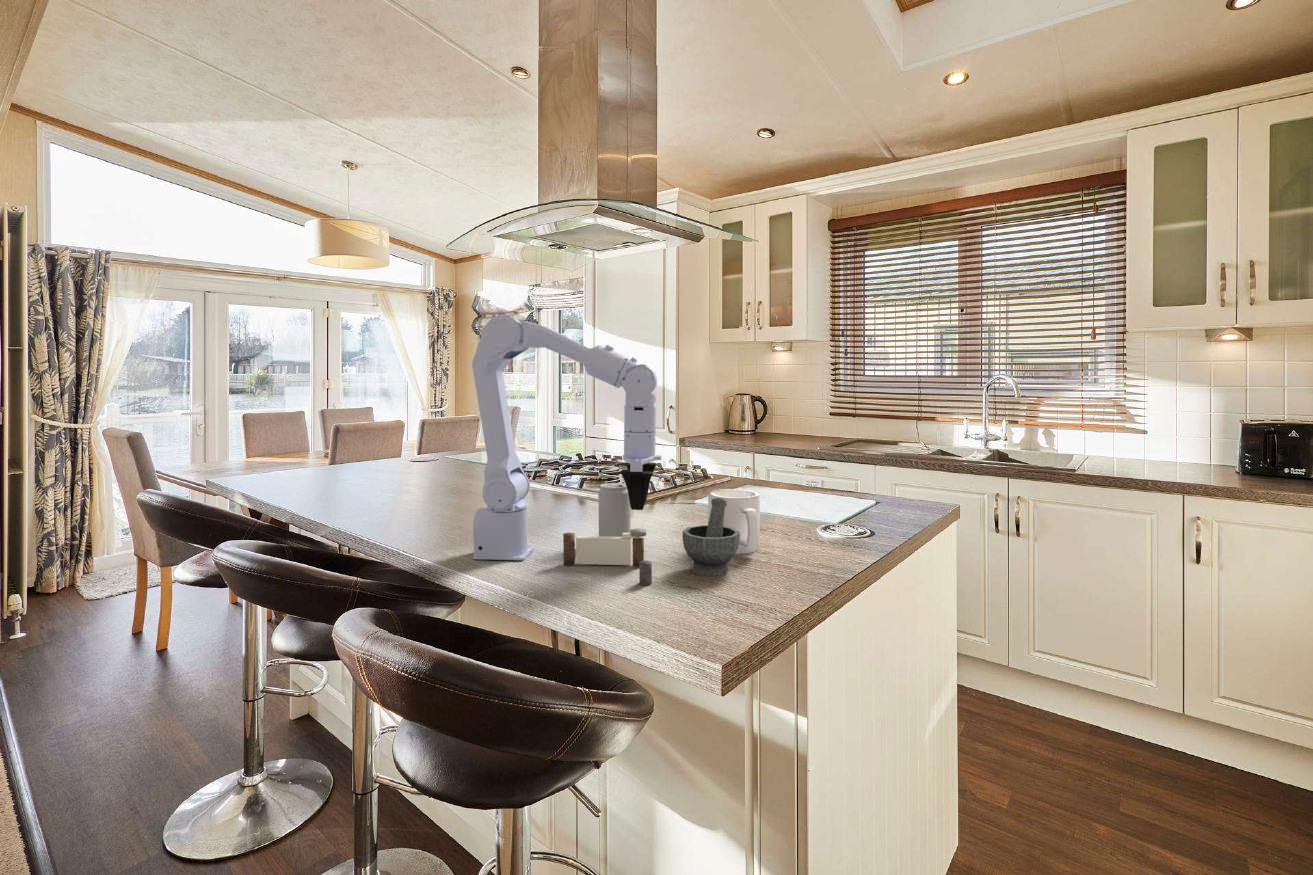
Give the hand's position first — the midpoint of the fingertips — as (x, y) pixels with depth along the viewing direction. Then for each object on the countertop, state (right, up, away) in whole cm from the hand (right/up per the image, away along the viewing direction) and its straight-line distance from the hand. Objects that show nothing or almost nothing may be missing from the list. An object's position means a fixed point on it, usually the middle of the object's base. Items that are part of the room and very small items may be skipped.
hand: (638, 505), depth 117 cm
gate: (-5, -10, -3) cm, 12 cm away
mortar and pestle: (+13, -11, -5) cm, 18 cm away
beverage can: (-5, -9, +11) cm, 15 cm away
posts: (-6, -11, -8) cm, 14 cm away
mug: (+19, -10, +8) cm, 23 cm away
